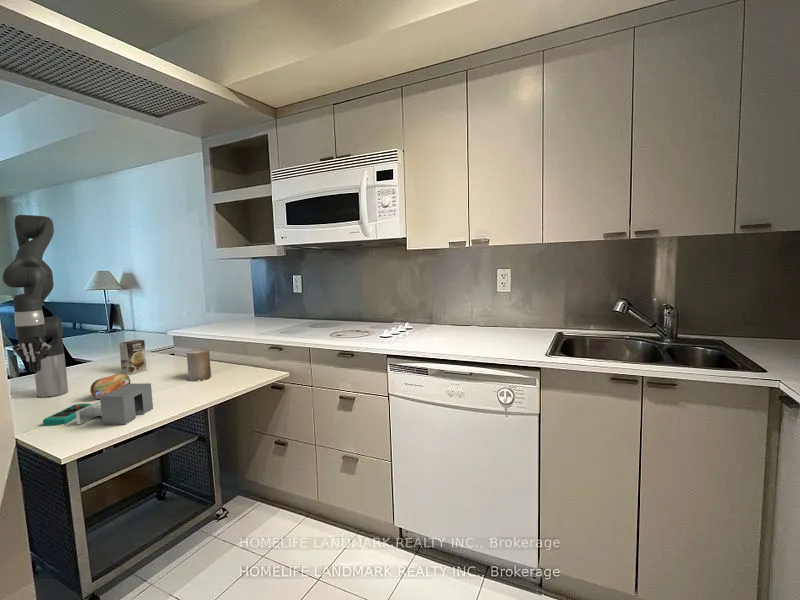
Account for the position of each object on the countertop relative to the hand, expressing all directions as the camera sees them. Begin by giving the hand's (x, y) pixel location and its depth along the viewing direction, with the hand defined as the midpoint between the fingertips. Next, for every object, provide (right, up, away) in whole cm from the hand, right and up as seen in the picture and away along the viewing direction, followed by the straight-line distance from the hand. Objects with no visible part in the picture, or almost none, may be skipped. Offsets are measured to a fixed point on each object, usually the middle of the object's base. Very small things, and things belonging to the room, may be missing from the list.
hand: (35, 371), depth 137 cm
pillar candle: (+35, -12, +46) cm, 59 cm away
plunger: (+27, -16, +4) cm, 31 cm away
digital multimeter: (+11, -17, +1) cm, 21 cm away
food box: (-6, -12, +60) cm, 61 cm away
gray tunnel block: (+33, -16, +1) cm, 37 cm away
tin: (+9, -15, +24) cm, 30 cm away
